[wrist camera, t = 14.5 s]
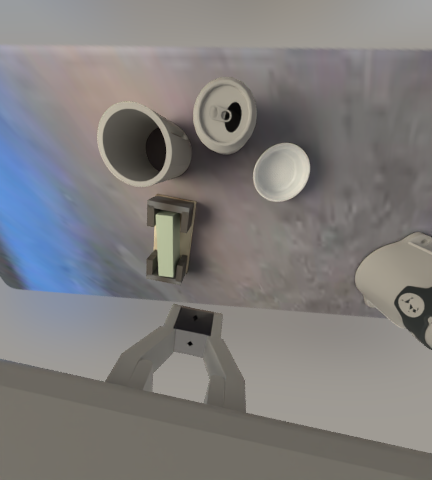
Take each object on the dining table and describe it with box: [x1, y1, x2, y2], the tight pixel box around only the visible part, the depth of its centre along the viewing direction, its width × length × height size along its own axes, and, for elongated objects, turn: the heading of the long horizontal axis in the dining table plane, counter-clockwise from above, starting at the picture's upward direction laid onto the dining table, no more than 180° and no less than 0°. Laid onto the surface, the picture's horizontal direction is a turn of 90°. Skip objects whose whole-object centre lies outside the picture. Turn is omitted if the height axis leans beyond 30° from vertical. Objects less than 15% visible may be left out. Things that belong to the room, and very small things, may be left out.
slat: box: [156, 210, 180, 277], centre depth 36 cm, size 3×13×5 cm, turn 175°
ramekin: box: [253, 143, 310, 202], centre depth 31 cm, size 9×9×4 cm
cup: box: [97, 101, 192, 187], centre depth 27 cm, size 9×9×12 cm
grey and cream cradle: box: [146, 194, 196, 285], centre depth 37 cm, size 8×17×5 cm, turn 170°
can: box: [193, 77, 257, 155], centre depth 25 cm, size 8×8×12 cm
